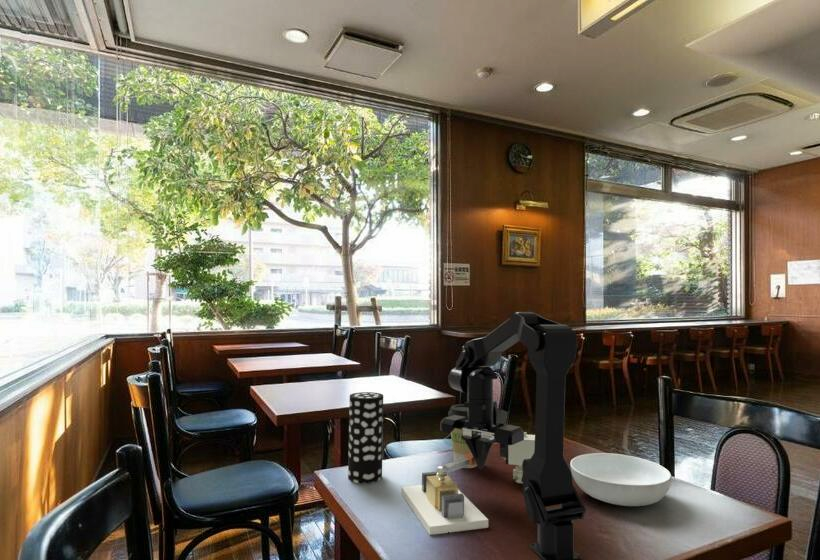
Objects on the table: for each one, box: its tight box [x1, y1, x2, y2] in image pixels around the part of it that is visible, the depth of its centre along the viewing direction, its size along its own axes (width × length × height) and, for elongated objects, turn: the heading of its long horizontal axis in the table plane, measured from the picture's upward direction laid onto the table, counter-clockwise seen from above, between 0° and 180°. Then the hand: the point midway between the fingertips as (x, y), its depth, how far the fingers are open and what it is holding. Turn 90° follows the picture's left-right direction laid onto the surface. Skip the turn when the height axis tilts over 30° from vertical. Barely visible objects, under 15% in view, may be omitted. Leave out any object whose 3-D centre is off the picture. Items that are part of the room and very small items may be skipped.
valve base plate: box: [400, 484, 489, 536], centre depth 103 cm, size 20×12×2 cm, turn 16°
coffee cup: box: [447, 403, 478, 469], centre depth 131 cm, size 10×10×15 cm
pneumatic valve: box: [499, 431, 535, 485], centre depth 119 cm, size 6×12×12 cm, turn 78°
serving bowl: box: [569, 452, 672, 507], centre depth 110 cm, size 21×21×7 cm
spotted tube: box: [347, 391, 384, 484], centre depth 121 cm, size 8×8×20 cm
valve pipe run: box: [421, 471, 465, 519], centre depth 103 cm, size 16×5×4 cm, turn 16°
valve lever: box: [436, 453, 476, 481], centre depth 107 cm, size 14×2×3 cm, turn 137°
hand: (480, 468), depth 109 cm, fingers closed
